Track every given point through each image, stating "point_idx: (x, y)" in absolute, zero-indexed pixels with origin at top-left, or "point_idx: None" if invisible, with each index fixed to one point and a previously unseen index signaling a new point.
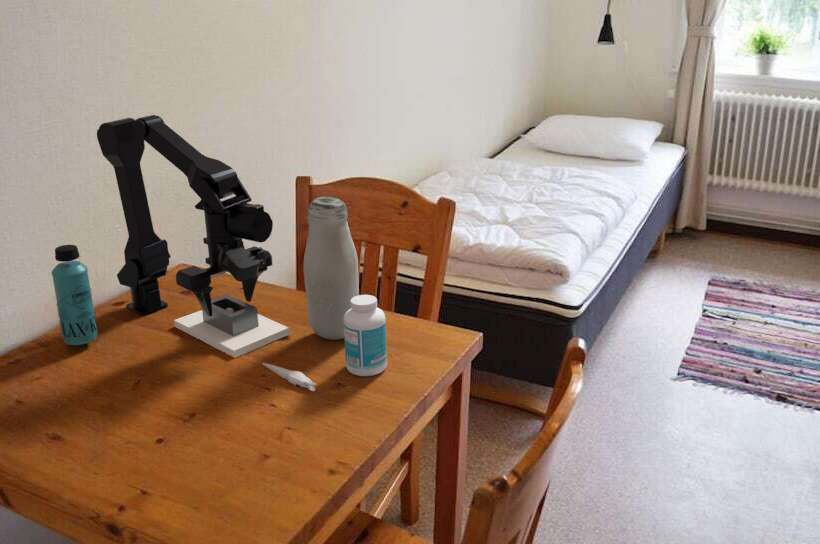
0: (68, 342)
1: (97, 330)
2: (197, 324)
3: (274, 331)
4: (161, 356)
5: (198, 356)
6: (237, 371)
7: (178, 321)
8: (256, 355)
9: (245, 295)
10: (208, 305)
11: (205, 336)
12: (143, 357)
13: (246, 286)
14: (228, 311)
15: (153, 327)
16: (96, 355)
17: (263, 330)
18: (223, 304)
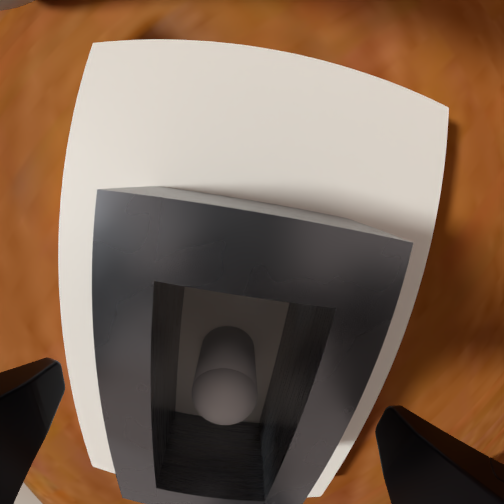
0: None
1: None
2: None
3: (163, 58)
4: (489, 355)
5: (472, 260)
6: (470, 54)
7: (324, 486)
8: (360, 43)
9: (48, 415)
10: (466, 449)
11: (400, 341)
12: (495, 382)
13: (3, 452)
14: (323, 362)
15: (342, 497)
16: (487, 444)
17: (184, 117)
18: (181, 466)
